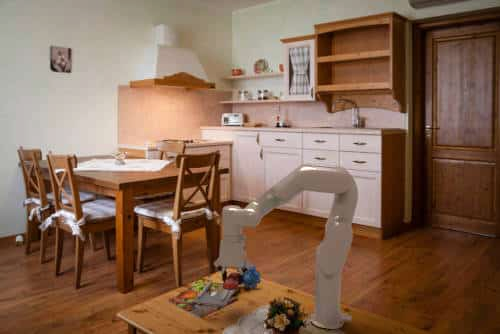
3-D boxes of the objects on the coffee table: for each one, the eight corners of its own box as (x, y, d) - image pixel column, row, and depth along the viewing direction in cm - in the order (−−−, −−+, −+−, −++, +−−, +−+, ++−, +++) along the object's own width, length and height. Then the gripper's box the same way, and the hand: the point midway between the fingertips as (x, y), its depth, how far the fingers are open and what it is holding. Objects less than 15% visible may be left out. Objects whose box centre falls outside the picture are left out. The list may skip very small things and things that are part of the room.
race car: (234, 292, 163) (233, 282, 162) (220, 290, 165) (220, 280, 164) (245, 279, 175) (245, 269, 175) (232, 278, 177) (232, 268, 177)
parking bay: (237, 287, 198) (237, 282, 198) (224, 307, 178) (224, 301, 178) (207, 284, 201) (207, 279, 201) (192, 303, 181) (192, 298, 180)
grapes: (233, 291, 194) (234, 265, 193) (235, 285, 201) (236, 260, 199) (259, 293, 193) (260, 266, 191) (261, 287, 199) (261, 261, 198)
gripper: (256, 236, 170) (256, 281, 172) (213, 234, 173) (214, 277, 175) (252, 241, 162) (252, 288, 165) (208, 239, 166) (208, 285, 168)
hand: (232, 282), depth 170 cm, fingers closed on race car, 5 cm apart
